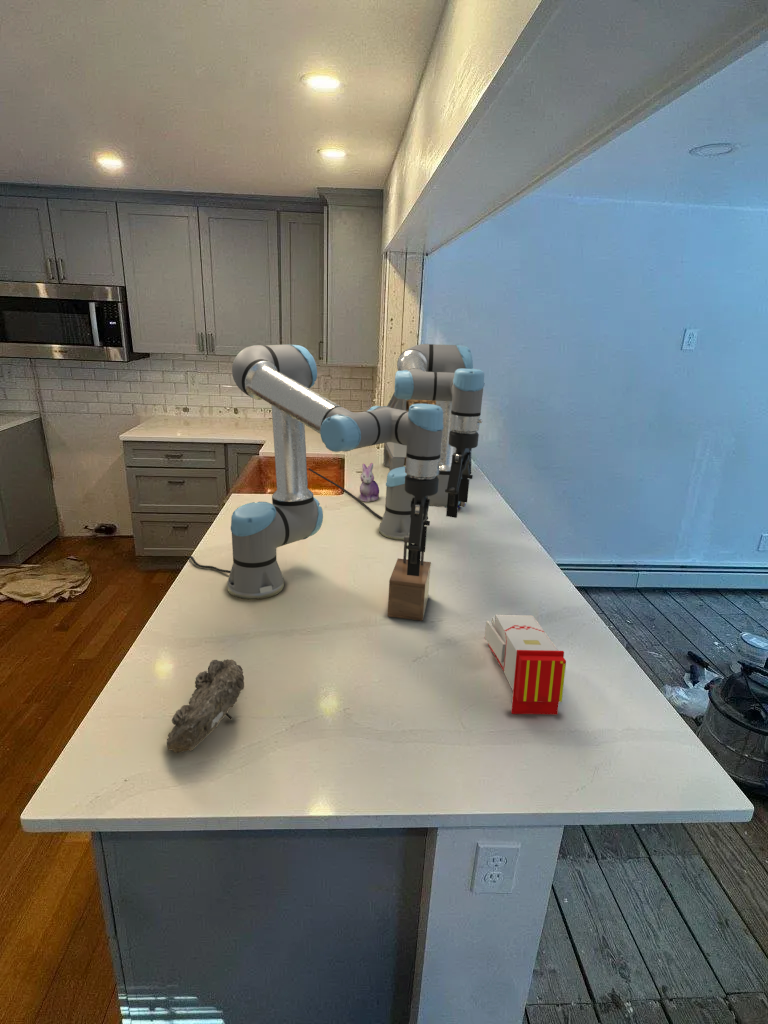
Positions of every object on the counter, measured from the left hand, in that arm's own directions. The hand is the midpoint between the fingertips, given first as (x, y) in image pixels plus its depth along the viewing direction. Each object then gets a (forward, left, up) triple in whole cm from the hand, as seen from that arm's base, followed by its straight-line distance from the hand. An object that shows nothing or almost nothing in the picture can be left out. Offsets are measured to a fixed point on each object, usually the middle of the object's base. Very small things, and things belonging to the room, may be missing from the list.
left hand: (416, 562), depth 133 cm
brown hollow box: (-3, +13, -19) cm, 23 cm away
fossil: (-33, -39, -19) cm, 55 cm away
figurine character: (+4, +99, -19) cm, 101 cm away
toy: (+25, -11, -19) cm, 33 cm away
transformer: (-16, +144, -19) cm, 146 cm away
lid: (-3, +13, -9) cm, 16 cm away
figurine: (-31, +98, -19) cm, 104 cm away
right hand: (+8, +25, +6) cm, 27 cm away
